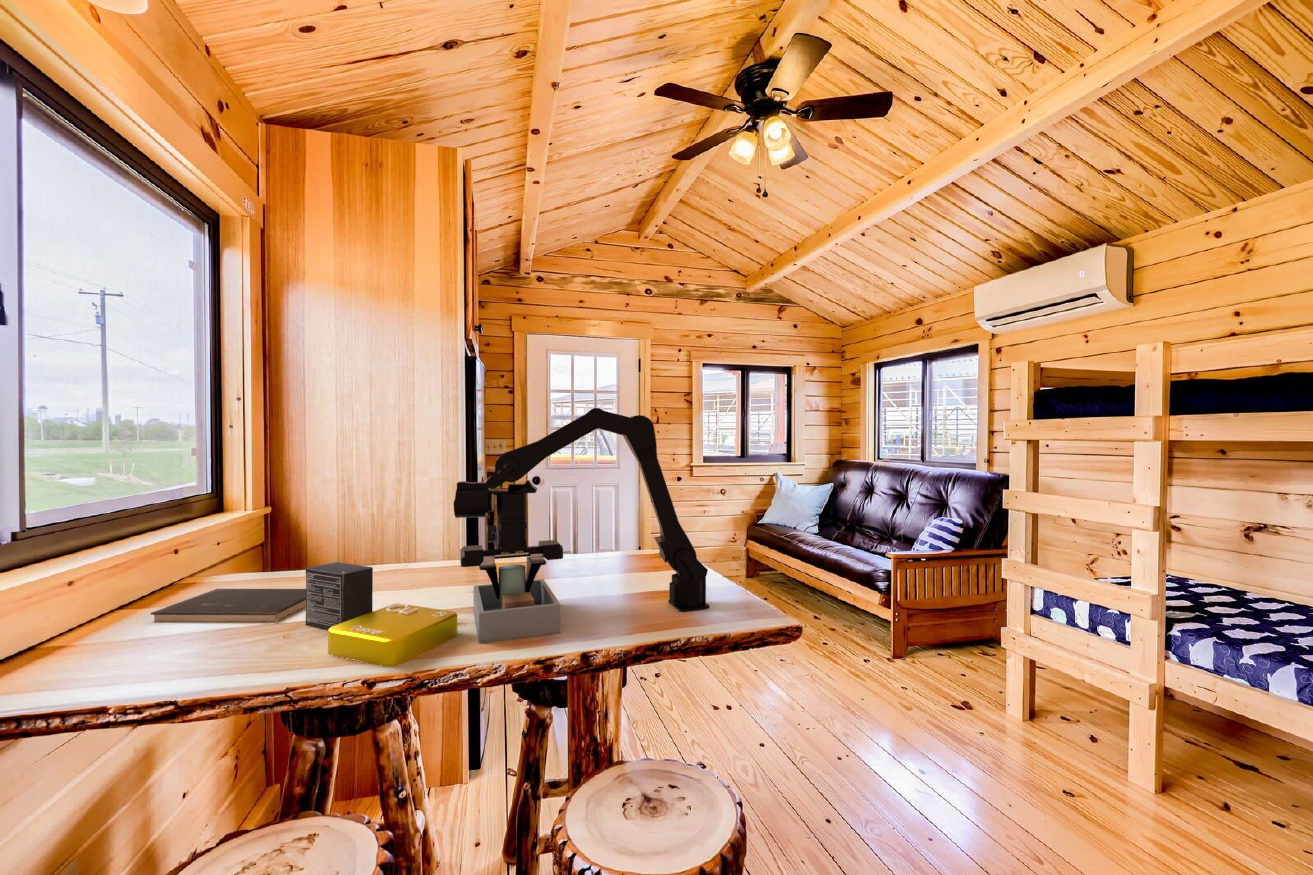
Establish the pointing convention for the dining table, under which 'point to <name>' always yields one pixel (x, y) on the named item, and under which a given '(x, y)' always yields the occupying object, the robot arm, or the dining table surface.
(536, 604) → the tote
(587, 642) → the dining table surface
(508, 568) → the teal cylinder
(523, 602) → the walnut cube
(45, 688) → the dining table surface
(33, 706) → the dining table surface
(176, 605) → the hardcover book
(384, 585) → the dining table surface
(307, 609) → the small box
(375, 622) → the element tile
